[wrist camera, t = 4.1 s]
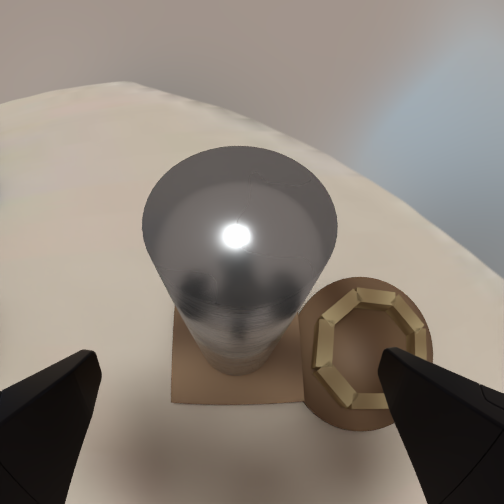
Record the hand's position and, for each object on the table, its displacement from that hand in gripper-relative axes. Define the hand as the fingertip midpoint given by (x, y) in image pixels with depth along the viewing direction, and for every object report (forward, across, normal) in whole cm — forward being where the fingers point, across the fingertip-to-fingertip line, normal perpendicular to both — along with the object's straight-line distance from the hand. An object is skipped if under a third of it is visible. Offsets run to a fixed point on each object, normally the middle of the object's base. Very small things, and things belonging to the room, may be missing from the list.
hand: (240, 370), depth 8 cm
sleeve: (+9, 0, +5) cm, 10 cm away
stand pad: (+9, 0, +5) cm, 11 cm away
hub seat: (+8, -9, +6) cm, 13 cm away
